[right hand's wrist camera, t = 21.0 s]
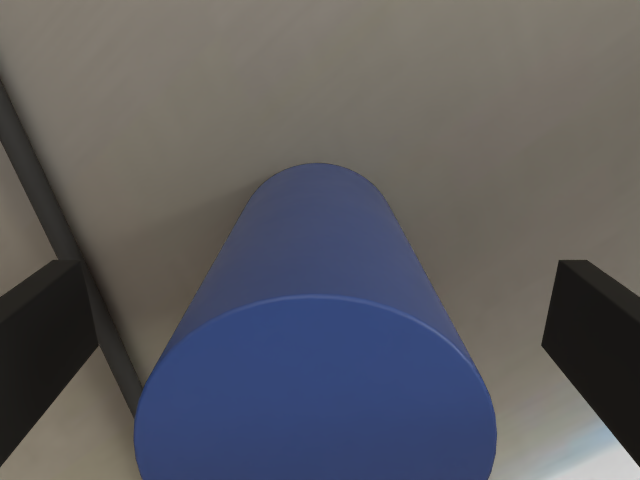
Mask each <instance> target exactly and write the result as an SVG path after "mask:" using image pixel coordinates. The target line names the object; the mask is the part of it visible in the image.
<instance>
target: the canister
mask: <svg viewBox="0 0 640 480" xmlns="http://www.w3.org/2000/svg"><path fill="white" fill-rule="evenodd" d="M496 441H497V427H496V417H495V412H494V408H493V404H492V401H491V397H490V394H489V392H488V390H487V388H486V386H485V384H484V381H483V379H482V377H481V375H480V373H479V372H478V370H477V368H476V366H475V364H474V362H473V360H472V359H471V357H470V355H469V353H468V351H467V349H466V347H465V346H464V344H463V342H462V340H461V338H460V336H459V334H458V333H457V331H456V329H455V327H454V325H453V323H452V321H451V320H450V318H449V316H448V314H447V312H446V310H445V308H444V307H443V305H442V303H441V301H440V299H439V297H438V295H437V294H436V292H435V290H434V288H433V286H432V284H431V282H430V281H429V279H428V277H427V275H426V273H425V271H424V270H423V268H422V266H421V264H420V262H419V260H418V258H417V257H416V255H415V253H414V251H413V249H412V247H411V245H410V244H409V242H408V240H407V238H406V236H405V234H404V232H403V231H402V229H401V227H400V225H399V223H398V221H397V219H396V218H395V216H394V214H393V212H392V210H391V208H390V206H389V205H388V203H387V201H386V200H385V198H384V197H383V195H382V194H381V193H380V191H379V190H378V189H377V188H376V187H375V186H374V185H373V184H372V183H371V182H369V181H368V180H367V179H366V178H364V177H362V176H361V175H359V174H358V173H356V172H354V171H351V170H349V169H347V168H344V167H341V166H337V165H332V164H324V163H311V164H303V165H298V166H294V167H291V168H288V169H285V170H283V171H281V172H279V173H277V174H275V175H274V176H272V177H271V178H269V179H268V180H267V181H265V182H264V183H263V184H262V185H261V186H260V187H259V188H258V189H257V190H256V191H255V193H254V194H253V195H252V196H251V198H250V200H249V201H248V203H247V204H246V206H245V208H244V210H243V211H242V213H241V215H240V217H239V219H238V220H237V222H236V224H235V226H234V227H233V229H232V231H231V233H230V234H229V236H228V238H227V240H226V242H225V243H224V245H223V247H222V249H221V250H220V252H219V254H218V256H217V257H216V259H215V261H214V263H213V265H212V266H211V268H210V270H209V272H208V273H207V275H206V277H205V279H204V280H203V282H202V284H201V286H200V288H199V289H198V291H197V293H196V295H195V296H194V298H193V300H192V302H191V303H190V305H189V307H188V309H187V311H186V312H185V314H184V316H183V318H182V319H181V321H180V323H179V325H178V326H177V328H176V330H175V332H174V334H173V335H172V337H171V339H170V341H169V342H168V344H167V346H166V348H165V349H164V351H163V353H162V355H161V357H160V358H159V360H158V362H157V364H156V365H155V367H154V369H153V371H152V372H151V374H150V376H149V378H148V380H147V381H146V384H145V386H144V388H143V391H142V393H141V396H140V398H139V401H138V405H137V410H136V414H135V419H134V448H135V456H136V461H137V464H138V468H139V471H140V475H141V477H142V480H488V478H489V476H490V474H491V471H492V467H493V462H494V458H495V454H496Z"/></svg>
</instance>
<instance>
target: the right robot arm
mask: <svg viewBox="0 0 640 480" xmlns="http://www.w3.org/2000/svg"><path fill="white" fill-rule="evenodd" d="M0 141H1V143H2V145H3V147H4V149H5V151H6V153H7V155H8V157H9V159H10V161H11V163H12V165H13V167H14V169H15V171H16V173H17V176H18V178H19V180H20V182H21V184H22V186H23V188H24V190H25V192H26V194H27V196H28V198H29V200H30V202H31V204H32V206H33V208H34V211H35V213H36V215H37V217H38V219H39V221H40V223H41V225H42V227H43V229H44V231H45V233H46V235H47V237H48V239H49V241H50V243H51V245H52V248H53V250H54V252H55V254H56V256H57V258H58V260H52V261H51V262H50V263H48V264H47V265H45V266H44V267H43V268H41V269H40V270H38V271H37V272H35V273H34V274H33V275H31V276H30V277H28V278H27V279H25V280H24V281H23V282H21V283H20V284H18V285H17V286H16V287H14V288H13V289H11V290H10V291H8V292H7V293H6V294H4V295H3V296H1V297H0V467H1V466H2V464H3V463H4V462H5V461H6V460H7V458H8V457H9V456H10V455H11V453H12V452H13V451H14V450H15V448H16V447H17V446H18V445H19V443H20V442H21V441H22V440H23V439H24V437H25V436H26V435H27V434H28V432H29V431H30V430H31V429H32V427H33V426H34V425H35V424H36V422H37V421H38V420H39V419H40V417H41V416H42V415H43V414H44V413H45V411H46V410H47V409H48V408H49V406H50V405H51V404H52V403H53V401H54V400H55V399H56V398H57V396H58V395H59V394H60V393H61V392H62V390H63V389H64V388H65V387H66V385H67V384H68V383H69V382H70V380H71V379H72V378H73V377H74V375H75V374H76V373H77V372H78V371H79V369H80V368H81V367H82V366H83V364H84V363H85V362H86V361H87V359H88V358H89V357H90V356H91V354H92V353H93V352H94V351H95V349H96V348H97V347H98V346H99V345H100V347H101V349H102V351H103V353H104V356H105V358H106V360H107V362H108V364H109V366H110V368H111V371H112V373H113V375H114V377H115V379H116V381H117V383H118V385H119V388H120V390H121V392H122V394H123V396H124V398H125V401H126V403H127V405H128V407H129V409H130V411H131V413H132V416H133V418H134V419H135V414H136V410H137V405H138V401H139V398H140V396H141V393H142V391H143V388H142V386H141V383H140V381H139V379H138V377H137V374H136V372H135V370H134V368H133V365H132V363H131V361H130V359H129V356H128V354H127V352H126V350H125V348H124V345H123V343H122V341H121V339H120V336H119V334H118V332H117V330H116V328H115V325H114V323H113V321H112V319H111V317H110V314H109V312H108V310H107V308H106V306H105V303H104V301H103V299H102V297H101V295H100V293H99V290H98V288H97V286H96V284H95V282H94V280H93V277H92V275H91V273H90V271H89V269H88V267H87V264H86V262H85V260H84V258H83V256H82V254H81V252H80V249H79V247H78V245H77V243H76V241H75V239H74V236H73V234H72V232H71V230H70V228H69V226H68V224H67V221H66V219H65V217H64V215H63V213H62V211H61V209H60V206H59V204H58V202H57V200H56V198H55V196H54V193H53V191H52V189H51V187H50V185H49V183H48V180H47V178H46V176H45V174H44V172H43V170H42V168H41V165H40V163H39V161H38V159H37V157H36V155H35V153H34V150H33V148H32V146H31V144H30V142H29V140H28V138H27V135H26V133H25V131H24V129H23V127H22V125H21V123H20V120H19V118H18V116H17V114H16V112H15V110H14V108H13V105H12V103H11V101H10V99H9V97H8V95H7V93H6V91H5V88H4V86H3V84H2V82H1V80H0ZM98 343H99V344H98ZM541 346H542V347H543V348H544V349H545V351H546V352H547V353H548V354H549V356H550V357H551V358H552V359H553V361H554V362H555V363H556V364H557V366H558V367H559V368H560V369H561V371H562V372H563V373H564V374H565V375H566V377H567V378H568V379H569V380H570V382H571V383H572V384H573V385H574V387H575V388H576V389H577V390H578V392H579V393H580V394H581V395H582V396H583V398H584V399H585V400H586V401H587V403H588V404H589V405H590V406H591V408H592V409H593V410H594V411H595V413H596V414H597V415H598V416H599V417H600V419H601V420H602V421H603V422H604V424H605V425H606V426H607V427H608V429H609V430H610V431H611V432H612V434H613V435H614V436H615V437H616V439H617V440H618V441H619V442H620V443H621V445H622V446H623V447H624V448H625V450H626V451H627V452H628V453H629V455H630V456H631V457H632V458H633V460H634V461H635V462H636V463H637V464H638V466H639V467H640V297H639V296H637V295H636V294H634V293H633V292H632V291H630V290H629V289H627V288H626V287H624V286H623V285H622V284H620V283H619V282H617V281H616V280H615V279H613V278H612V277H610V276H609V275H607V274H606V273H605V272H603V271H602V270H600V269H599V268H597V267H596V266H595V265H593V264H592V263H590V262H589V261H588V260H559V262H558V267H557V272H556V277H555V282H554V286H553V291H552V296H551V301H550V306H549V311H548V315H547V320H546V325H545V330H544V335H543V339H542V344H541Z"/></svg>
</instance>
